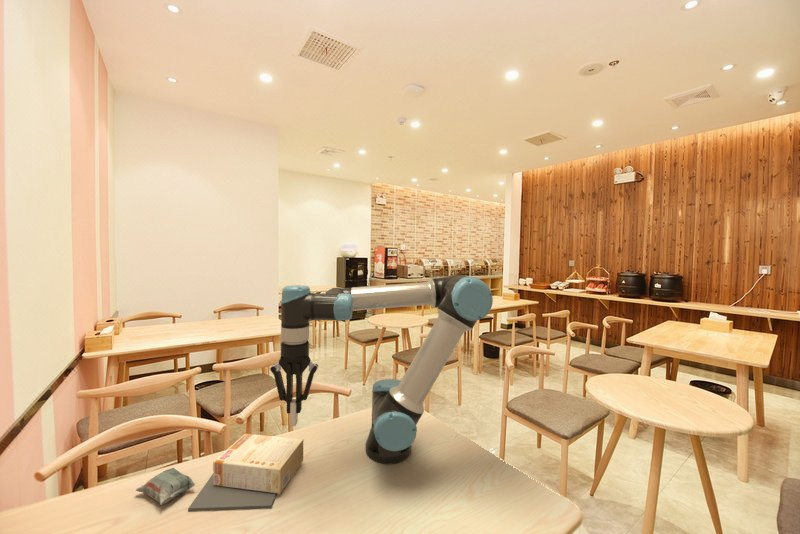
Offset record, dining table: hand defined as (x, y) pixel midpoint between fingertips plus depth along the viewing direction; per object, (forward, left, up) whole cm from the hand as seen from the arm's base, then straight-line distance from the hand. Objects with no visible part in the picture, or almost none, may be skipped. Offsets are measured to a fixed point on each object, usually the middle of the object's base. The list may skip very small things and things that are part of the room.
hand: (293, 423), depth 94 cm
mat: (+13, +1, -17) cm, 21 cm away
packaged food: (+32, +4, -17) cm, 37 cm away
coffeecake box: (0, -1, -12) cm, 12 cm away
